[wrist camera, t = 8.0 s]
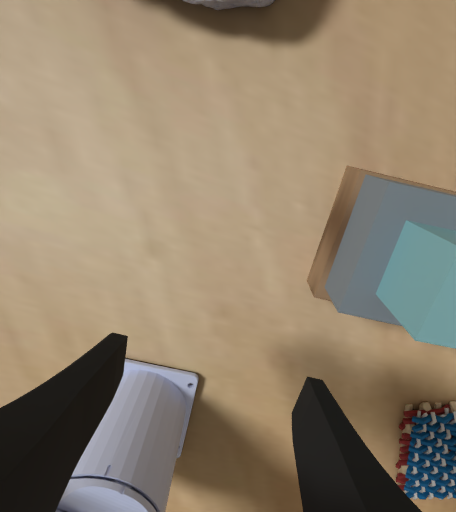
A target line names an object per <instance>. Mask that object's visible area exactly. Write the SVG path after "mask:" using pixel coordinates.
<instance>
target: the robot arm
mask: <svg viewBox="0 0 456 512" xmlns="http://www.w3.org/2000/svg"><path fill="white" fill-rule="evenodd" d="M127 338H128V336H125V335H121V334H116V333H111V334H109V335H108V336H107V337H105V338H104V339H103V340H102V341H101V342H99V343H98V344H97V345H96V346H94V347H93V348H92V349H91V350H89V351H88V352H87V353H86V354H84V355H83V356H82V357H80V358H79V359H78V360H76V361H75V362H73V363H72V364H71V365H69V366H68V367H67V368H65V369H64V370H62V371H61V372H59V373H58V374H56V375H55V376H53V377H52V378H50V379H49V380H47V381H46V382H44V383H43V384H41V385H40V386H38V387H37V388H35V389H33V390H32V391H30V392H28V393H27V394H25V395H23V396H21V397H20V398H18V399H16V400H14V401H13V402H11V403H9V404H7V405H5V406H3V407H1V408H0V512H165V510H166V506H167V501H168V496H169V491H170V486H171V482H172V477H173V472H174V467H175V462H176V458H179V457H180V456H181V452H182V448H183V444H184V439H185V435H186V431H187V427H188V422H189V418H190V414H191V409H192V405H193V401H194V397H195V392H196V388H197V384H198V379H199V378H198V375H197V374H195V373H192V372H187V371H182V370H177V369H172V368H168V367H163V366H158V365H153V364H148V363H143V362H139V361H134V360H129V359H125V355H126V347H127ZM189 383H192V384H193V385H191V384H189ZM292 436H293V446H294V453H295V460H296V467H297V473H298V479H299V486H300V493H301V499H302V506H303V512H422V511H421V510H420V509H419V508H418V507H417V506H416V505H415V504H414V503H413V502H412V501H411V500H410V499H409V497H408V496H407V495H406V494H405V493H404V492H403V491H402V490H401V489H400V487H399V486H398V485H397V484H396V483H395V481H394V480H393V479H392V478H391V477H390V475H389V474H388V473H387V472H386V471H385V470H384V468H383V467H382V466H381V465H380V463H379V462H378V461H377V459H376V458H375V457H374V456H373V454H372V453H371V451H370V450H369V449H368V447H367V446H366V445H365V443H364V442H363V441H362V439H361V438H360V436H359V435H358V434H357V432H356V431H355V429H354V428H353V426H352V425H351V423H350V422H349V420H348V419H347V417H346V416H345V414H344V413H343V411H342V410H341V408H340V407H339V405H338V404H337V402H336V400H335V399H334V397H333V396H332V394H331V393H330V391H329V389H328V388H327V386H326V385H325V383H324V382H323V380H320V379H316V378H311V377H307V379H306V381H305V383H304V386H303V388H302V390H301V393H300V395H299V397H298V400H297V402H296V404H295V407H294V409H293V411H292Z"/></svg>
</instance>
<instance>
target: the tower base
mask: <svg viewBox="0 0 456 512" xmlns="http://www.w3.org/2000/svg"><path fill="white" fill-rule="evenodd" d="M366 174H367V175H371V176H375V177H380V178H384V179H388V180H393V181H397V182H401V183H406V184H410V185H414V186H419V187H423V188H427V189H432V190H436V191H441V192H445V193H449V194H454V195H456V192H454V191H450V190H446V189H441V188H437V187H433V186H429V185H425V184H421V183H417V182H412V181H408V180H404V179H400V178H396V177H392V176H388V175H383V174H379V173H375V172H371V171H367V170H363V169H358V168H354V167H350V166H347V167H346V170H345V173H344V176H343V179H342V181H341V184H340V187H339V190H338V193H337V196H336V199H335V201H334V204H333V207H332V210H331V213H330V216H329V219H328V221H327V224H326V227H325V230H324V233H323V236H322V239H321V242H320V244H319V247H318V250H317V253H316V256H315V259H314V262H313V264H312V267H311V270H310V273H309V276H308V279H307V282H308V284H309V287H310V289H311V291H312V293H313V296H314V297H315V298H320V299H324V300H329V301H332V300H331V298H330V296H329V295H328V293H327V291H326V289H325V284H326V282H327V279H328V276H329V273H330V271H331V268H332V265H333V262H334V260H335V257H336V254H337V251H338V249H339V246H340V243H341V241H342V238H343V235H344V232H345V230H346V227H347V224H348V221H349V219H350V216H351V213H352V210H353V208H354V205H355V202H356V199H357V197H358V194H359V191H360V189H361V186H362V183H363V180H364V178H365V175H366Z"/></svg>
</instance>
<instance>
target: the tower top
mask: <svg viewBox="0 0 456 512" xmlns="http://www.w3.org/2000/svg"><path fill="white" fill-rule="evenodd" d="M406 220H407V221H412V222H417V223H421V224H426V225H431V226H436V227H440V228H445V229H450V230H455V231H456V195H454V194H449V193H445V192H441V191H436V190H432V189H427V188H423V187H419V186H414V185H410V184H406V183H401V182H397V181H393V180H388V179H384V178H380V177H375V176H371V175H367V174H366V175H365V178H364V180H363V183H362V186H361V189H360V191H359V194H358V197H357V199H356V202H355V205H354V208H353V210H352V213H351V216H350V219H349V221H348V224H347V227H346V230H345V232H344V235H343V238H342V241H341V243H340V246H339V249H338V251H337V254H336V257H335V260H334V262H333V265H332V268H331V271H330V273H329V276H328V279H327V282H326V284H325V289H326V291H327V293H328V295H329V296H330V298H331V300H332V302H333V304H334V306H335V308H336V309H337V311H338V312H339V313H344V314H348V315H353V316H358V317H362V318H367V319H372V320H376V321H381V322H386V323H390V324H395V325H400V326H402V325H401V323H400V322H399V321H398V320H397V319H396V318H395V316H394V315H393V314H392V313H391V312H390V310H389V309H388V308H387V307H386V306H385V305H384V303H383V302H382V301H381V300H380V299H379V298H378V296H377V295H376V292H377V289H378V287H379V285H380V282H381V280H382V277H383V275H384V273H385V270H386V268H387V265H388V263H389V260H390V258H391V256H392V253H393V251H394V248H395V246H396V244H397V241H398V239H399V236H400V234H401V232H402V229H403V227H404V224H405V222H406Z"/></svg>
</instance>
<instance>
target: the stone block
mask: <svg viewBox="0 0 456 512" xmlns="http://www.w3.org/2000/svg"><path fill="white" fill-rule="evenodd" d="M183 1H185V2H188V3H191V4H203V5H204V6H205V7H211V8H214V9H215V10H221V9H229V8H235V7H240V6H245V7H246V6H250V7H267V6H268V5H270V4H272V3H273V2H274V1H275V0H183Z"/></svg>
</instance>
